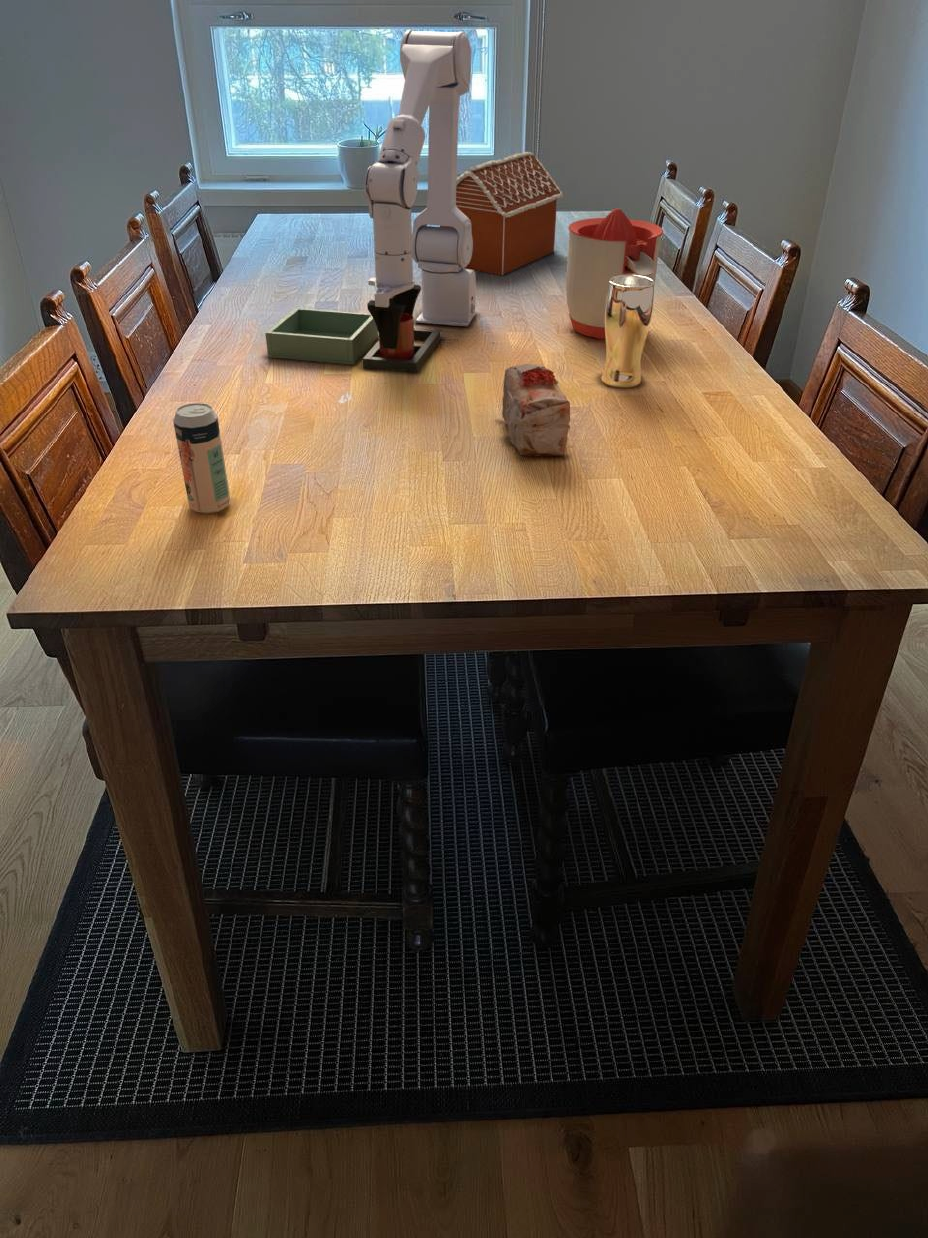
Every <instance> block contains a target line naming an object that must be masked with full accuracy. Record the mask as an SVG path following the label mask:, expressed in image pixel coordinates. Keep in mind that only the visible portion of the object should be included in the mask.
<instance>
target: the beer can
mask: <svg viewBox="0 0 928 1238" xmlns="http://www.w3.org/2000/svg"><path fill="white" fill-rule="evenodd" d="M172 423H173V428H174V429H173V430H174V434H175V438H176V445H177V449H178V454H179V460H180V465H181V470H182V471H181V472H182V475H183V481H184V486H185V492H186V497H187V502H188V507H189V509H191V510H192V511H194V512H197V513H199V514H204V515H205V514H207V515H208V514H216V513H219V512H221V511H223V510H224V509H225V508H227V507H228V506H229V505H230V504H231V502H232V501H231V494H230V487H229V480H228V475H227V469H226V468H227V467H226V461H225V456H224V455H225V454H224V449H223V444H222V443H223V442H222V437H221V436H222V435H221V430H220V424H219V418H218V414H217V413H216V411H215V410H214V409H213V407H212V406H211V405H209V404H207V403H200V402H193V403H187V404H186V403H185V404H183V405H181V406H179V407H177V409H176V411H175V414H174V417H173V418H172Z"/></svg>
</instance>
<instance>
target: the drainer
mask: <svg viewBox="0 0 928 1238" xmlns="http://www.w3.org/2000/svg"><path fill="white" fill-rule="evenodd" d="M441 339H442V330H441V329H430V328H418V327H414V340H423V341H424V343H414V357H413V358H412V359H411V360H403V359H392V358H380V351H379V340H377V342H376V343H375V344H374V345H373V347H371V348H370V350H368V352H367V353H366V354H365V355H364V357H363V358H362V368H364V369H373V370H374V369H375V370H385V371H396V372H397V371H398V372H407V373H408V372H409V373H418V371H419V370H420V369H421V367H422V366H423V364H425V361H426V360H427V358H428V357H429V356H430V355H431V354H432V352H433V350H434V349H435V348H436V346H437V345H438V344H439V342H440V341H441Z"/></svg>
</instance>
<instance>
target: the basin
mask: <svg viewBox="0 0 928 1238" xmlns="http://www.w3.org/2000/svg"><path fill="white" fill-rule="evenodd" d="M264 334H265V341H266V343H265V344H266V350H267V358H272V359H282V360H283V359H284V360H285V359H286V360H294V361H295V360H296V361H306V362H319V363H330V364H331V363H332V364H343V365H350V366H351V365H355V364H356V363H357V362H358V361H359V360H360V359H361V357H362V356H364V354H365V353H366V352H367V351H368V349H370V347H371V346H372V345H373V344H374V343H375V342H376V341H377V339H379V332H378V329H377V326H376V323H375V321H374V319H373V317H372V315H371V314H370V312H369V313H368V312H367V313H366V312H355V311H342V310H331V309H317V308H305V307H304V308H303V307H295V308H294V309H292V310H291V311H290V312H289V313H287V315H286V316H284V317H283V318H282V319H280V320H279V321H278V322H276V324H274V325H273V326H272V327H271V328H269V329H268V330H266V332H265V333H264Z"/></svg>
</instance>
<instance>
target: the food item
mask: <svg viewBox="0 0 928 1238" xmlns="http://www.w3.org/2000/svg"><path fill="white" fill-rule="evenodd" d="M554 372H555V371H552V370H550V369H549V368H547V367H545V366H543V365H539V364H538V365H537V364H532V363H531V364H530V363H529V364H528V363H525V364H520V365H515V366H510V367H507V368H506V369H505V370H504V376H503V377H504V378H503V385H502V386H503V387H502V391H503V396H502V412H501V413H502V414H501V415H502V418H503V420H504V422H505V424H506V425H507V430H508V434H507V435H508V442H510V443H511V444H512V445H513V446H514V447H515V449H517V450H518V454H519V455H520V456H528V457H559V456H562V457H563V456H564V454H565V453H566V448H567V443H568V435H569V430H570V429H571V425H570V422H571V402H570V401H569V400H568V398H567V396H566V395H565V393H564V391H563V390H562V389H561V388H560V386H559V385H558V384H559V380H557V378H555V375H554Z"/></svg>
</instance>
